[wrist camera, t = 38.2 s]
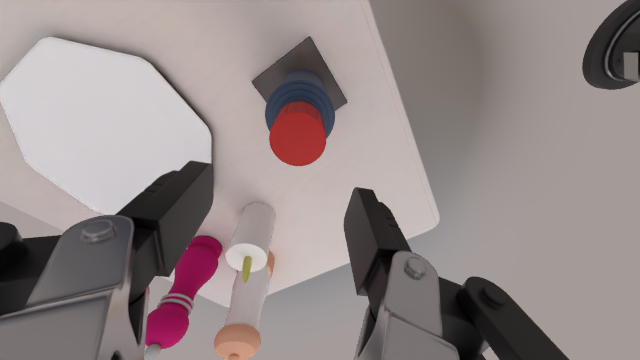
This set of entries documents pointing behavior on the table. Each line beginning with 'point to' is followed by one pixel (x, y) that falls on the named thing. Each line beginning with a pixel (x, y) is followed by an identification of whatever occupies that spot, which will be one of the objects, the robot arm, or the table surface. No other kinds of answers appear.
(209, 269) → the pepper mill
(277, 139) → the cap
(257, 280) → the pepper shaker
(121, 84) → the plate
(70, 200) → the table surface
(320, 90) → the bottle
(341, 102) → the coaster
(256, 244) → the candle
